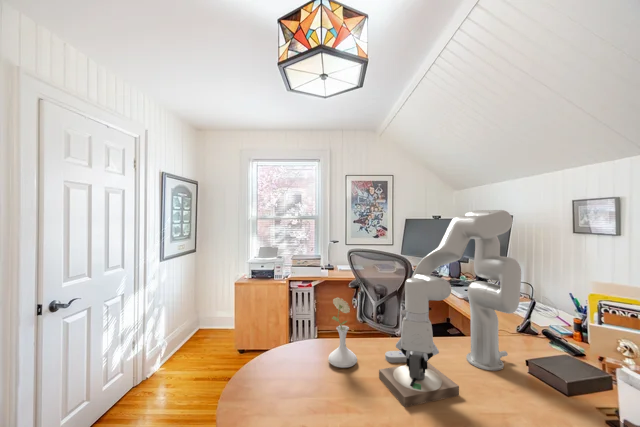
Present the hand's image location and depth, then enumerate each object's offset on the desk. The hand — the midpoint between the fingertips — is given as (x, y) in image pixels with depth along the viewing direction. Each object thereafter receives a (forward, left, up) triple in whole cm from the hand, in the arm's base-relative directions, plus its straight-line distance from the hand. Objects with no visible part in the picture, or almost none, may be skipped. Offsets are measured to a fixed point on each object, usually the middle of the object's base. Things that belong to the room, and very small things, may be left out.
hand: (416, 369), depth 95 cm
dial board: (0, 0, -6) cm, 6 cm away
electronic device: (-6, -17, -6) cm, 19 cm away
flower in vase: (+19, -22, -6) cm, 30 cm away
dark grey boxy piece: (+1, +1, -2) cm, 3 cm away
